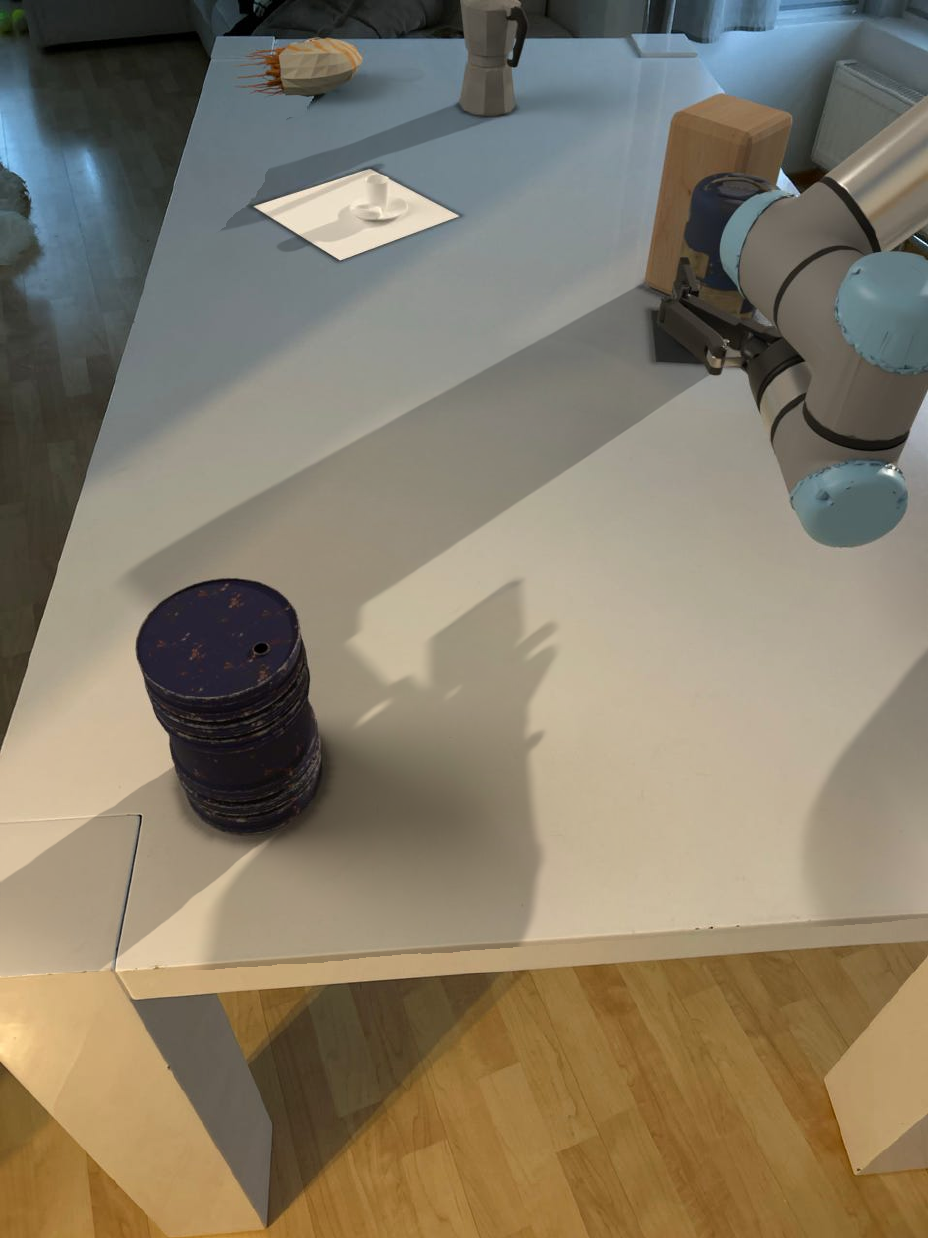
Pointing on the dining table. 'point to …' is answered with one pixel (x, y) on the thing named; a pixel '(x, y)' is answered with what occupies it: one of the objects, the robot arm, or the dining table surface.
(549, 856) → the dining table surface
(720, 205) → the canister
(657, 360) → the mat
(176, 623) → the navy cylinder
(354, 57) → the nautilus shell
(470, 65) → the coffeepot
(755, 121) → the wooden block
